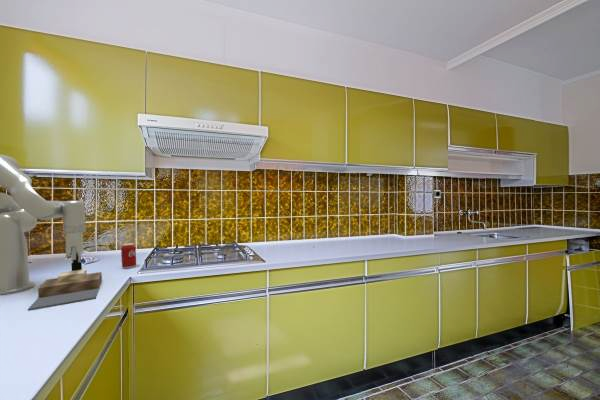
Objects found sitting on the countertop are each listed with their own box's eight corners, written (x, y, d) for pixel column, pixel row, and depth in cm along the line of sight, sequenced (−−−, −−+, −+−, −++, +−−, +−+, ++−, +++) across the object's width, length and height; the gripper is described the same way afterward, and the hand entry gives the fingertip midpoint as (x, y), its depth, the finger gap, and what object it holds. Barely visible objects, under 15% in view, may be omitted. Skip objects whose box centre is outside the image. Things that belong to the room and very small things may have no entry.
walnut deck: (38, 298, 103) (38, 288, 102) (47, 289, 113) (46, 279, 113) (98, 289, 112) (98, 279, 112) (101, 281, 122) (101, 272, 122)
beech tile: (58, 283, 108) (57, 276, 108) (62, 278, 114) (61, 272, 114) (84, 279, 112) (83, 273, 112) (86, 274, 118) (86, 269, 118)
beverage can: (134, 268, 142) (133, 244, 142) (120, 269, 141) (119, 245, 140) (137, 265, 148) (136, 242, 148) (124, 266, 147) (123, 243, 146)
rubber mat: (28, 310, 92) (28, 308, 92) (37, 299, 102) (37, 298, 102) (95, 298, 101) (95, 297, 101) (98, 289, 111) (98, 288, 111)
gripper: (66, 228, 125) (69, 269, 125) (59, 232, 112) (62, 277, 113) (87, 226, 129) (89, 266, 129) (83, 230, 116) (85, 274, 116)
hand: (76, 271), depth 121 cm, fingers closed
